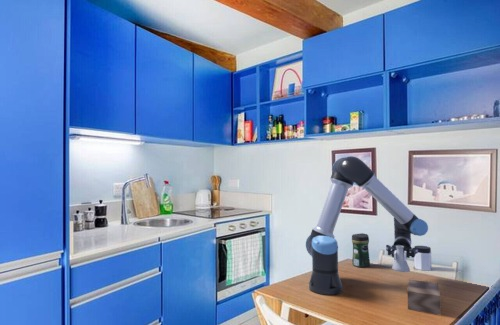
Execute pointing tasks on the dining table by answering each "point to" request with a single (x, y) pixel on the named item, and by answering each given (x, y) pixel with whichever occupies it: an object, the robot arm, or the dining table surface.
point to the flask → (400, 261)
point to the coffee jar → (360, 250)
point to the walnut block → (424, 296)
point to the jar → (423, 258)
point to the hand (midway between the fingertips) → (400, 257)
